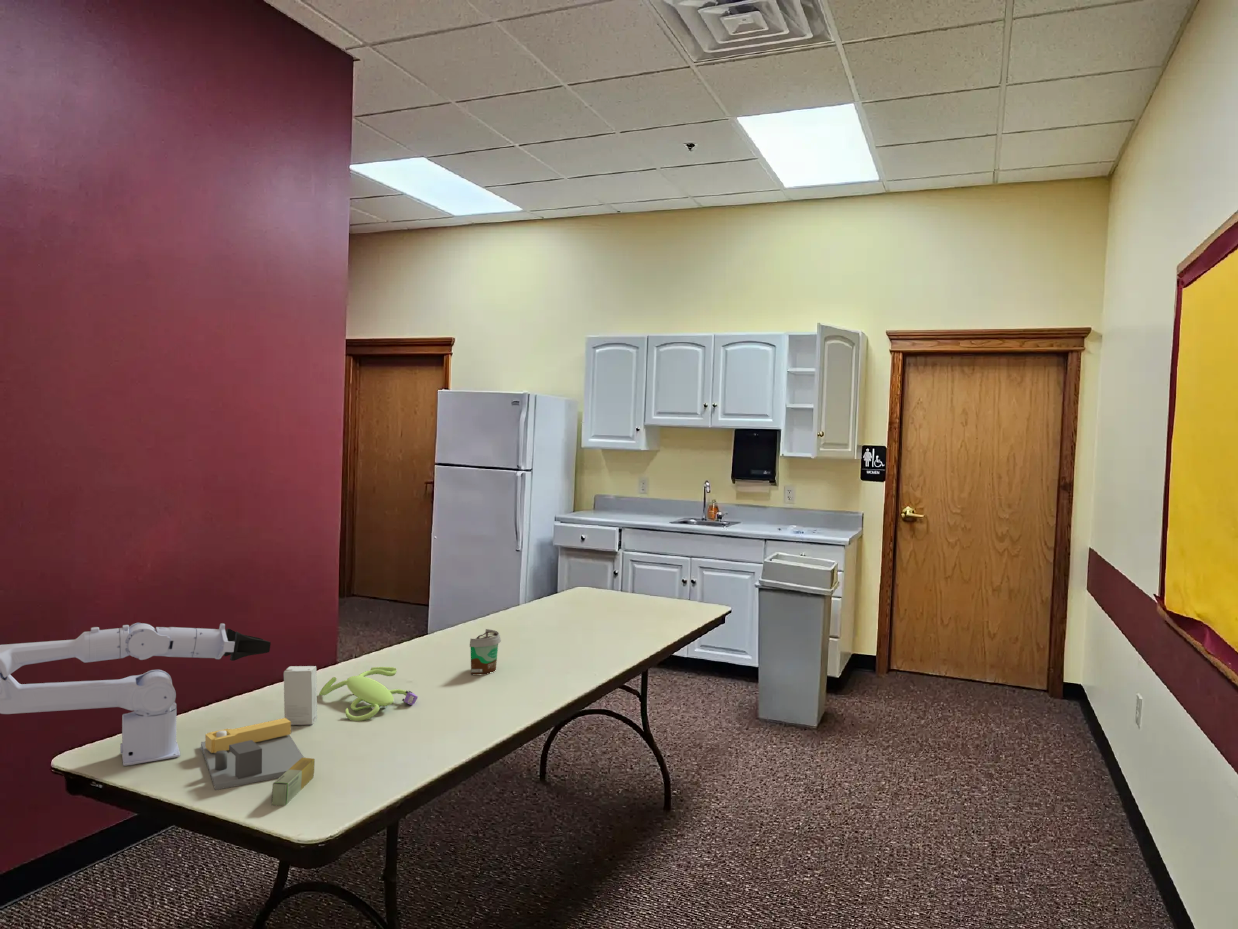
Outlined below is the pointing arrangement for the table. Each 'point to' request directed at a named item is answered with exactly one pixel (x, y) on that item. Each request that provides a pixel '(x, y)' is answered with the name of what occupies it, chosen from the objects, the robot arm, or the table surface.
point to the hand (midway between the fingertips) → (265, 645)
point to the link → (248, 734)
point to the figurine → (369, 691)
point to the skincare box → (300, 695)
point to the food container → (484, 652)
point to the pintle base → (251, 761)
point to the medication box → (292, 781)
